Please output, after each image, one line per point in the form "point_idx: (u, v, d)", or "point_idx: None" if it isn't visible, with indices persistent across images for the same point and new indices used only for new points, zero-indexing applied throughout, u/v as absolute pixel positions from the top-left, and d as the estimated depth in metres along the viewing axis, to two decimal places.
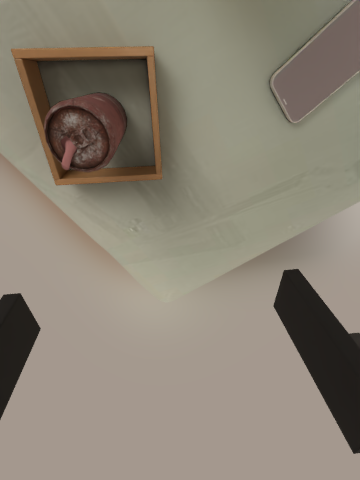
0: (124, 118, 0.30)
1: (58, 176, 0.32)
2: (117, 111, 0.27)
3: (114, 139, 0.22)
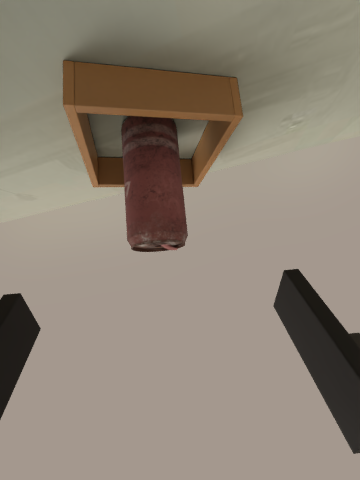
0: (150, 132, 0.23)
1: (191, 184, 0.34)
2: (141, 162, 0.23)
3: (163, 232, 0.21)
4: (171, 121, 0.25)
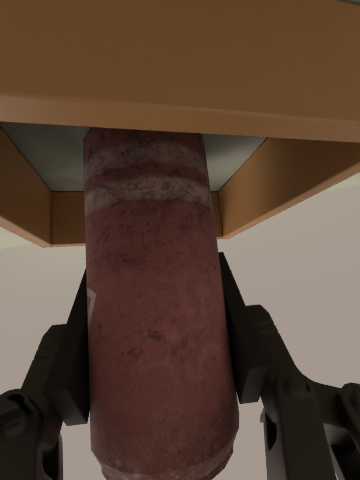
0: (147, 164, 0.09)
1: (218, 237, 0.20)
2: (123, 248, 0.09)
3: (187, 470, 0.07)
4: (197, 134, 0.11)
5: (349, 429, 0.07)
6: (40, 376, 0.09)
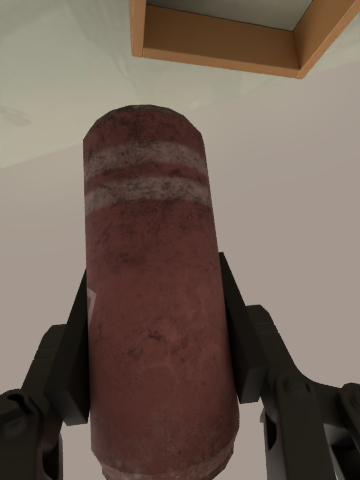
0: (147, 164, 0.09)
1: (296, 70, 0.20)
2: (123, 248, 0.09)
3: (188, 470, 0.07)
4: (197, 134, 0.11)
5: (349, 430, 0.07)
6: (40, 376, 0.09)
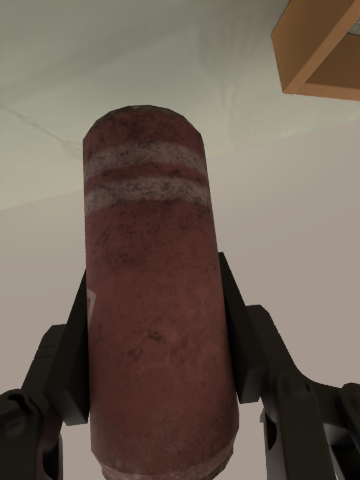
0: (147, 164, 0.09)
1: None
2: (122, 248, 0.09)
3: (187, 470, 0.07)
4: (196, 134, 0.11)
5: (349, 429, 0.07)
6: (40, 376, 0.09)
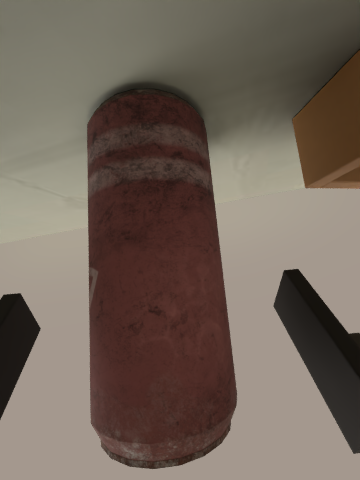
0: (150, 145, 0.09)
1: None
2: (125, 226, 0.09)
3: (185, 441, 0.07)
4: (199, 119, 0.11)
5: None
6: None
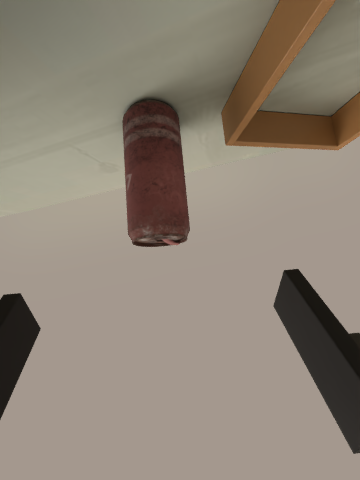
0: (152, 123, 0.23)
1: (334, 146, 0.28)
2: (142, 154, 0.22)
3: (165, 226, 0.21)
4: (174, 113, 0.24)
5: None
6: None
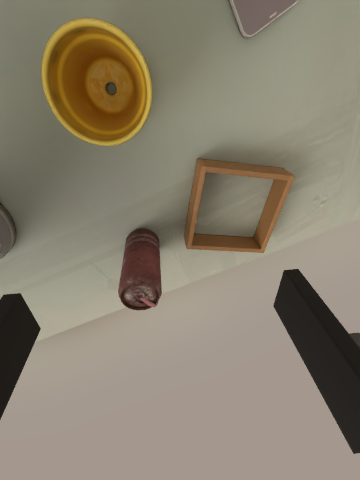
0: (141, 236, 0.40)
1: (258, 249, 0.43)
2: (133, 248, 0.38)
3: (142, 277, 0.32)
4: (155, 235, 0.43)
5: None
6: None
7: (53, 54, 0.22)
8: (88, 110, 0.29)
